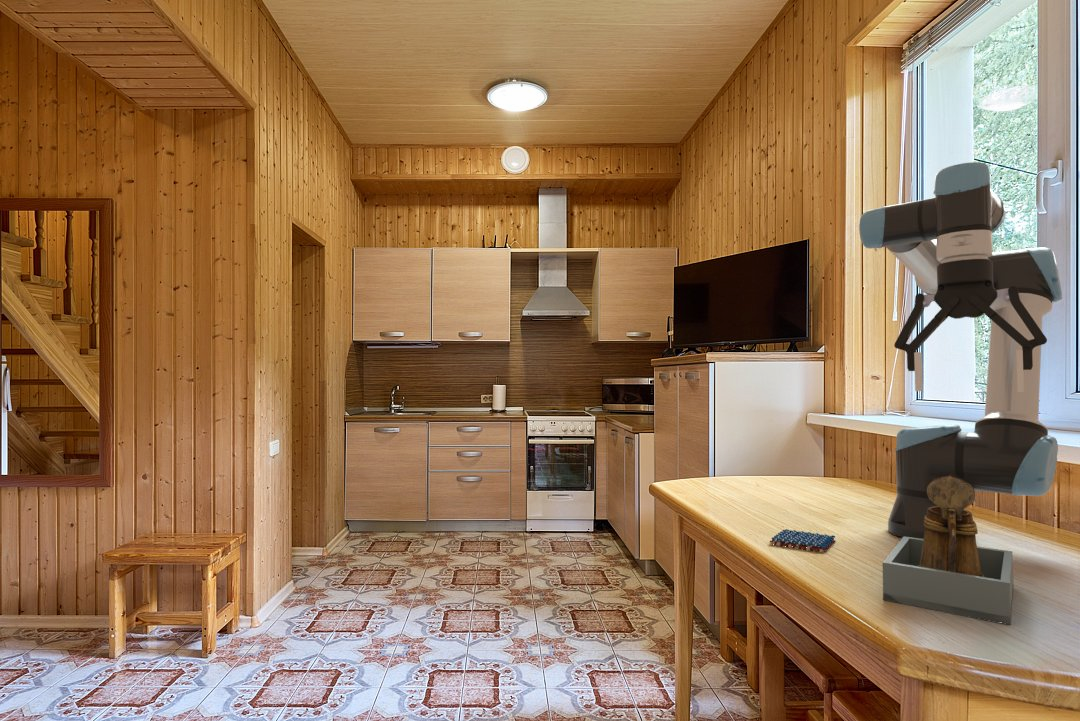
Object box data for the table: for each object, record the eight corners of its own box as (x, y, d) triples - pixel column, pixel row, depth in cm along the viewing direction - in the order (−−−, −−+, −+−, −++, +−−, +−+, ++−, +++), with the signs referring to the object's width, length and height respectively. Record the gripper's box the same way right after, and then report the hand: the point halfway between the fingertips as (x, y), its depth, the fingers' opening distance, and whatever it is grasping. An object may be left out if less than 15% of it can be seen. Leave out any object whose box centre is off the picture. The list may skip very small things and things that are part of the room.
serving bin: (904, 568, 107) (903, 536, 107) (1013, 586, 97) (1012, 551, 97) (883, 599, 91) (882, 562, 91) (1010, 625, 82) (1009, 583, 82)
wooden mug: (915, 593, 91) (913, 471, 91) (916, 570, 102) (914, 461, 103) (990, 605, 86) (987, 476, 87) (982, 579, 98) (980, 465, 98)
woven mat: (781, 537, 130) (781, 527, 130) (836, 544, 124) (836, 534, 124) (767, 547, 122) (767, 537, 122) (825, 556, 115) (825, 545, 115)
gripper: (873, 267, 105) (877, 391, 105) (1065, 247, 89) (1069, 392, 89) (882, 272, 111) (885, 389, 111) (1063, 254, 95) (1067, 390, 95)
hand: (967, 391), depth 100 cm, fingers open, 13 cm apart
